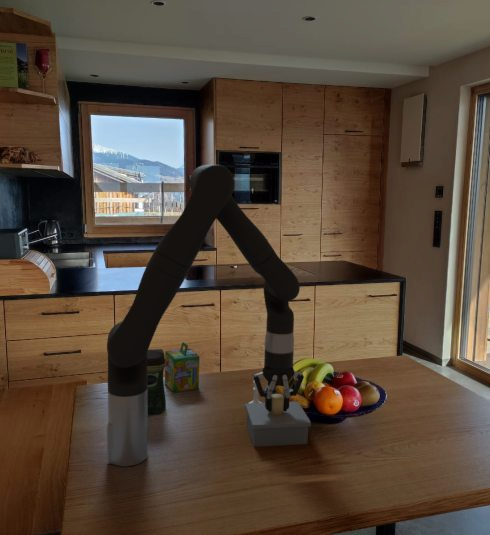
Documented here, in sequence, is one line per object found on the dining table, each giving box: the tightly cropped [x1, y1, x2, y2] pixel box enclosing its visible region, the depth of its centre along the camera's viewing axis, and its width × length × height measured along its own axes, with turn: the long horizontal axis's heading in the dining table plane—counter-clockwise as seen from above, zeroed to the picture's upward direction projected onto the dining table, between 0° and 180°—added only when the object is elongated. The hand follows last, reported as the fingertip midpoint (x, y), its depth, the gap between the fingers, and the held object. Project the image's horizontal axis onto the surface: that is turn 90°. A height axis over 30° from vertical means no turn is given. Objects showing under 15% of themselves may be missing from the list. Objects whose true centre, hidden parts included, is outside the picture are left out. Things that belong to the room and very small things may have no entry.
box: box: [246, 413, 309, 447], centre depth 132 cm, size 14×12×6 cm
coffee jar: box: [147, 348, 167, 416], centre depth 145 cm, size 10×8×19 cm
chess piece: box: [248, 380, 263, 403], centre depth 151 cm, size 5×5×10 cm
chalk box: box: [164, 341, 200, 394], centre depth 165 cm, size 9×9×15 cm
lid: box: [244, 393, 312, 429], centre depth 131 cm, size 15×13×6 cm
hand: (276, 410), depth 131 cm, fingers closed on lid, 3 cm apart
